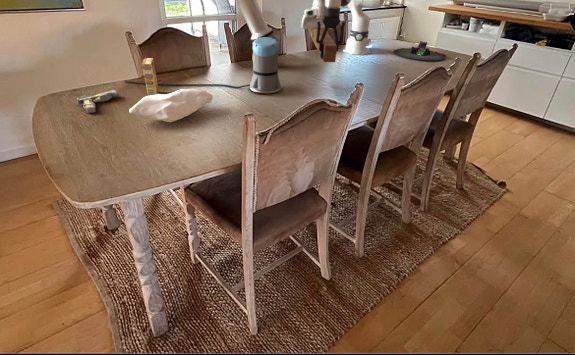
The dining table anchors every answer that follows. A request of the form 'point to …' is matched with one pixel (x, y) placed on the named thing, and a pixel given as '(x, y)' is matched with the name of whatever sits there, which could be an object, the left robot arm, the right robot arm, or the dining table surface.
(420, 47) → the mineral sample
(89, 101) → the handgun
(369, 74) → the dining table surface
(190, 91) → the crumpled cloth
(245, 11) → the left robot arm
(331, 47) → the bar
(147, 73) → the candy box
